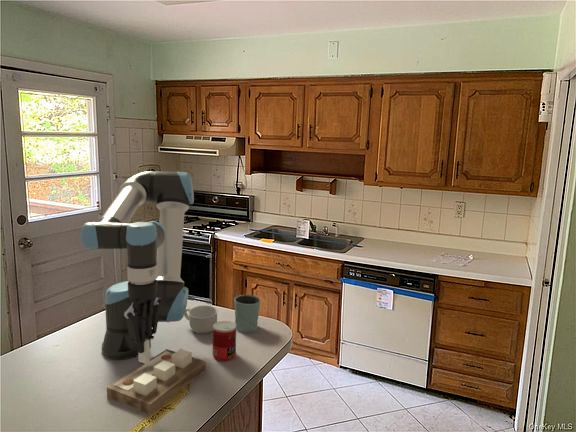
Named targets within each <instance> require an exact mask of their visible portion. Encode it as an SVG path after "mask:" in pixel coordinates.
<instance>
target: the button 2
mask: <svg viewBox="0 0 576 432" xmlns="http://www.w3.org/2000/svg"><path fill="white" fill-rule="evenodd" d="M192 355H193V353H192V351H188V350H185V349H182V348H180V349H179V350H177V351H175V353H174V354H172V363H173V364H175V366H176V367H179V368H182V369H184V368H185V367H186V366H188V365H189V364H190V363H192V357H193V356H192Z"/></svg>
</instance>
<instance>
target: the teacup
mask: <svg viewBox="0 0 576 432" xmlns="http://www.w3.org/2000/svg"><path fill="white" fill-rule="evenodd" d="M183 317H184V318H186V320H187V321H188V322H189V327H190V329H191V330H192V331H193V332H194V333H197V334H202V335H203V334H204V335H205V334H208V333H211V332H213V325H214V324H215V323H216V322H218V309H217V308H216V307H215V306H212V305H207V304H205V305H197V306H194V307H192V308H190V307H186V310H185V313H184V316H183Z"/></svg>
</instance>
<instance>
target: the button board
mask: <svg viewBox="0 0 576 432" xmlns="http://www.w3.org/2000/svg"><path fill="white" fill-rule="evenodd" d="M175 352H176V351H174V350H172V349H167V348H166V349H164V350H163V351H161V352H160V353H157V354H156V355H155V356H154V357H152V358H150V362H148V363H147V364H145V363H143V364H141V365H139V366H137V367H136V368H135V369H133V370H131V371H130V372H128V373H127V374H125V375H123V376H122V377H121V378H118V379H117V380H115V381H114V382H112V383H111V384H109V385H108V386H107V387H106V397H107V398H109V399H112V400H114V401H117V402H119V403H121V404H124V405H127V406H129V407H132V408H135V409H136V410H138V411H141V412H144V413H146V414H149V415H152V414H153V413H154V412H156V410H158V409H159V408H160V407H161V406H163V405H164V404H165V403H166V402H168V401H169V400H170V399H171V398H173V396H175V395H176V394H178V393H179V392H180V391H181V390H183V389H184V388H185V387H186V386H188V385H189V384H190V383H192V382H193V381H194V380H195V379H196V378H198V377H199V376H200V375H201V374H203V373H204V372H205V371H207V361H206V360H204V359H203V360H202V359H199V358H196V357H194V356H192V363H190V364H189V365H188V366H186V367H185V368H184V369H182V368H179V367H176V366H175V375H174V376H173V377H171V378H170V379H169V380H167V381H166V382H165V381H162V380H159V379H157V388H156V389H155V390H154V391H152V392H151V393H150V394H148V395H147V396H143V395H141V394H138V393H135V392H134V390H133V380H135V379H136V378H138V377H139V376H141V375H142V374H144V373H146V374H149V375H152V376H154V368H153V367H154V366H156V365H157V364H159V363H160V362H162V361H163V360H164V361H167V362H170V363H172V354H174V353H175ZM202 372H203V373H202Z"/></svg>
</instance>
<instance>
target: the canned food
mask: <svg viewBox="0 0 576 432" xmlns="http://www.w3.org/2000/svg"><path fill="white" fill-rule="evenodd" d="M236 348H237V330H236V324H235V322H232V321H230V320H221V321H217V322H216V323H215V324H214V325H213V330H212V356H213V358H214V359H216V360H218V361H221V362H222V361H223V362H225V361H226V362H227V361H230V360H232V359H234V358H235V356H236V353H237V350H236Z"/></svg>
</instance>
